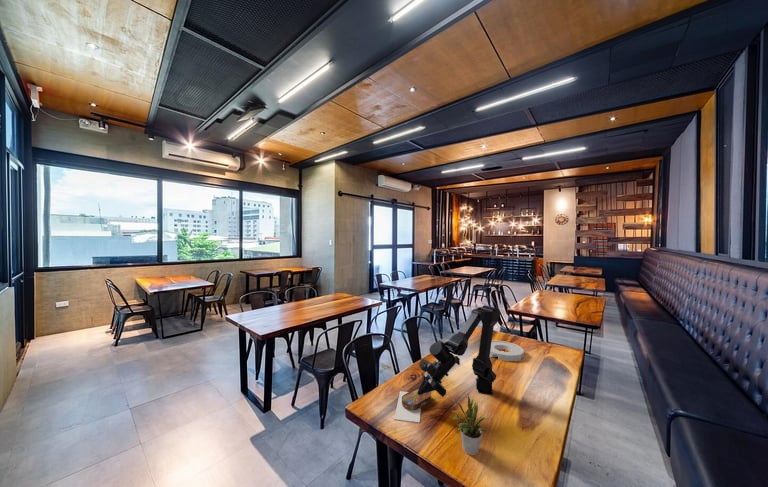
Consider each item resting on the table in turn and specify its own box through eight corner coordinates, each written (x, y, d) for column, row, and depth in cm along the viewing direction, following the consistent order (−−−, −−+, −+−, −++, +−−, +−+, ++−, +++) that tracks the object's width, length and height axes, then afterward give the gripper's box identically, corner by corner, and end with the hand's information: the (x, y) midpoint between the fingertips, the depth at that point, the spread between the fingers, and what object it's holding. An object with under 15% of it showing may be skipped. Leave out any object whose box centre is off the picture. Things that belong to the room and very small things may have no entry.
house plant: (444, 431, 104) (444, 387, 103) (481, 432, 103) (482, 388, 103) (452, 462, 90) (453, 412, 89) (495, 463, 89) (497, 413, 89)
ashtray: (531, 362, 162) (531, 355, 162) (491, 362, 162) (491, 355, 162) (513, 346, 185) (513, 340, 185) (478, 346, 186) (478, 340, 186)
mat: (421, 394, 128) (421, 393, 128) (419, 422, 108) (419, 422, 108) (400, 391, 130) (400, 391, 130) (394, 419, 110) (394, 419, 110)
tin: (411, 407, 113) (397, 396, 120) (411, 414, 114) (397, 403, 120) (435, 393, 123) (420, 384, 130) (434, 400, 124) (420, 391, 130)
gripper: (423, 344, 126) (399, 370, 125) (439, 363, 108) (411, 394, 106) (440, 360, 128) (416, 386, 126) (457, 382, 109) (430, 412, 108)
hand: (418, 393), depth 117 cm, fingers closed
